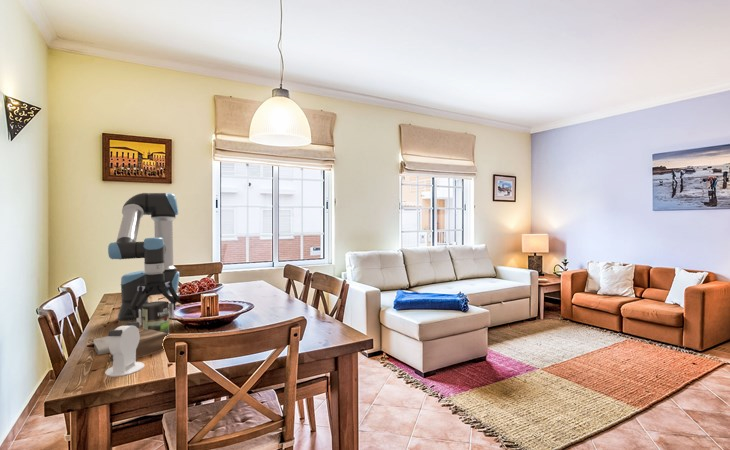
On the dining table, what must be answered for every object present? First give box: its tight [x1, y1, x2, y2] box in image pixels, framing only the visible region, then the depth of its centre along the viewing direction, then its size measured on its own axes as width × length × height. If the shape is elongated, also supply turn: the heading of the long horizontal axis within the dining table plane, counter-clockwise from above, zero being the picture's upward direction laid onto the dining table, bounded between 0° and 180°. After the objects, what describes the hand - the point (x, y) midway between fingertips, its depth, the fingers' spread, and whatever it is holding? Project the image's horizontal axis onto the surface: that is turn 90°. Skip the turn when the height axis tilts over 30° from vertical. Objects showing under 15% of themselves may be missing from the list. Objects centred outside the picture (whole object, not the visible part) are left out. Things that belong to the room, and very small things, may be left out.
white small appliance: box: [104, 321, 145, 378], centre depth 128 cm, size 12×11×15 cm
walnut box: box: [136, 329, 169, 359], centre depth 146 cm, size 12×12×6 cm
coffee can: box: [142, 300, 170, 335], centre depth 163 cm, size 10×10×14 cm
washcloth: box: [92, 336, 111, 356], centre depth 152 cm, size 12×18×3 cm, turn 43°
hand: (155, 321), depth 163 cm, fingers open, 13 cm apart
